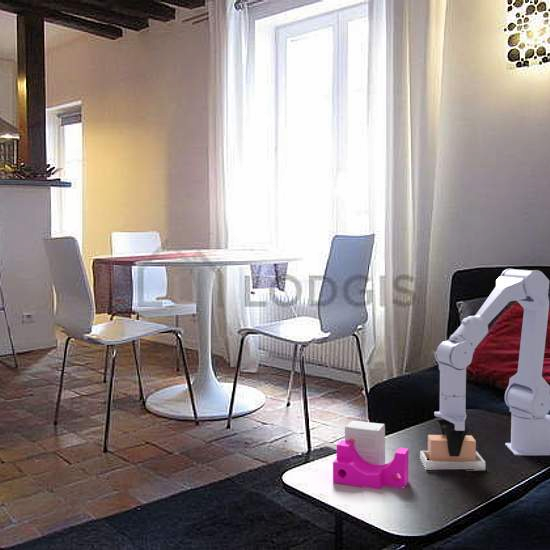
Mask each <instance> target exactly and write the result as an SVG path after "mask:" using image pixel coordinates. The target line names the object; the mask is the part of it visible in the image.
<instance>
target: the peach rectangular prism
mask: <svg viewBox="0 0 550 550" xmlns="http://www.w3.org/2000/svg"><path fill="white" fill-rule="evenodd" d="M476 448H477V441H476V439H475V438H474V436H472V435H467V434H466V436H465V438H464V441H463V444H462V448H461V452H460V455H459V456H450V455H449V451H448V444H447V438H446V435H442V434H427V451H428V458H429V460H428V461H476V451H477V449H476Z"/></svg>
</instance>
